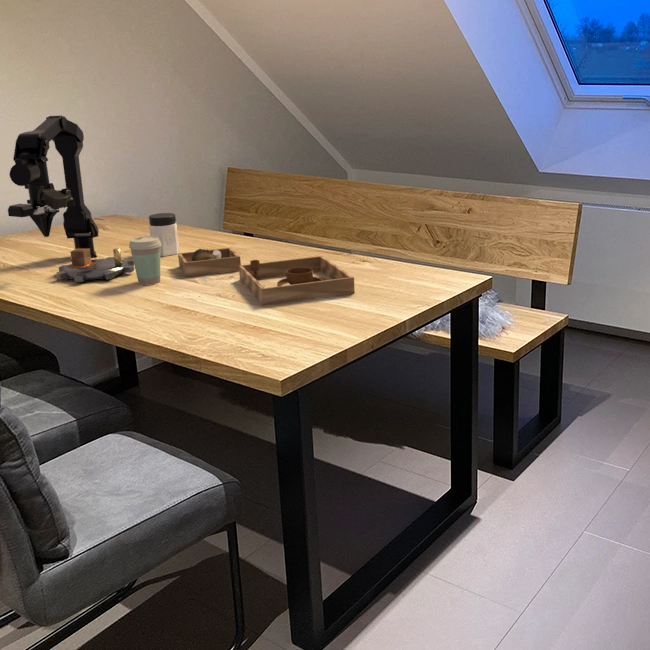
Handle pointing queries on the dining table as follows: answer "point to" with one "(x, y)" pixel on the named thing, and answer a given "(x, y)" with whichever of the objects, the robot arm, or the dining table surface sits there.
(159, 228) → the jar
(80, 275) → the sprocket
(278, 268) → the saucer tray frame
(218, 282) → the dining table surface
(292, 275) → the place setting
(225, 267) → the open wooden box
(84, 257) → the link block
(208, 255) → the eagle figurine
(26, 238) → the dining table surface
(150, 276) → the coffee cup
